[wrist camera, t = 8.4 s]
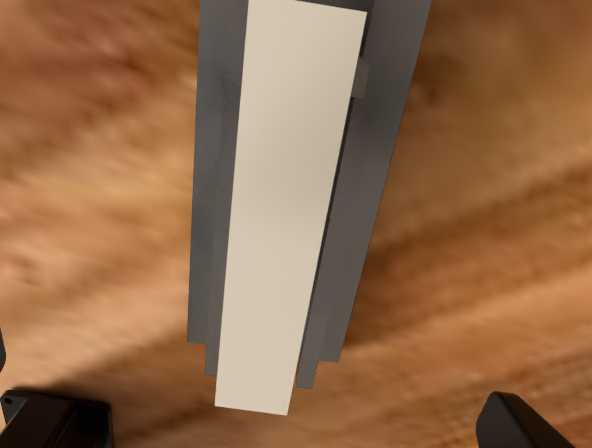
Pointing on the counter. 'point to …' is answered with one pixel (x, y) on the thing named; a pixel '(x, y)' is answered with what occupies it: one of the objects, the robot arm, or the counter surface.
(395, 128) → the track
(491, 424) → the robot arm
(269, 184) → the door panel
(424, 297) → the counter surface
